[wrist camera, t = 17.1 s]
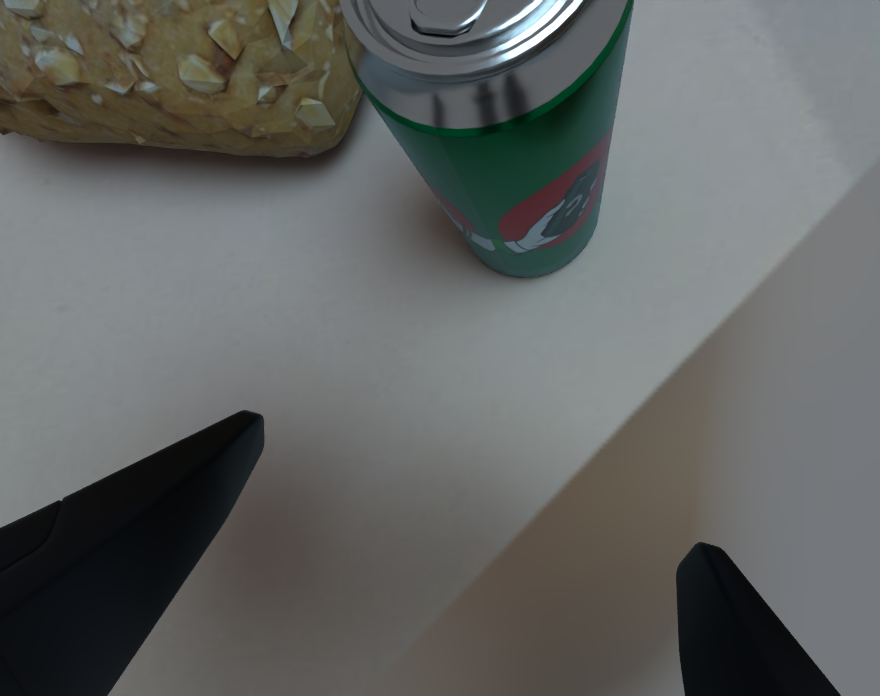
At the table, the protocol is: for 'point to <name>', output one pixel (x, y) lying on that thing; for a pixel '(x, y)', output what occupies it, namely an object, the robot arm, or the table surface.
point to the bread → (178, 74)
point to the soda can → (499, 112)
